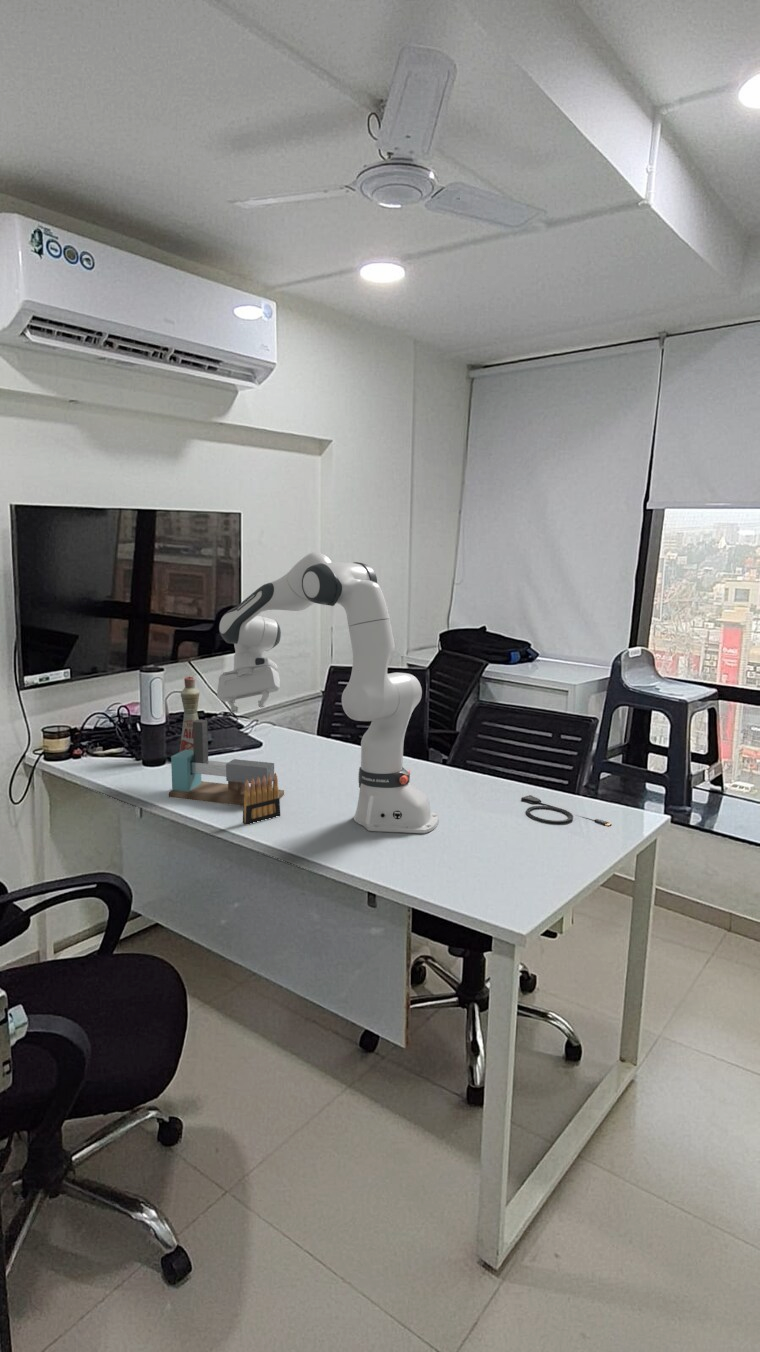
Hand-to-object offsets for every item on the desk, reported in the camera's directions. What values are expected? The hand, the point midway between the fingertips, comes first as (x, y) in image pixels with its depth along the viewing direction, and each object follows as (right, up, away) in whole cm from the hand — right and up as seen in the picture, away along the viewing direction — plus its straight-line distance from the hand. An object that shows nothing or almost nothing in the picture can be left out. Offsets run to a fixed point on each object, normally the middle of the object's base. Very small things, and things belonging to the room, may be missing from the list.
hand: (248, 709), depth 233 cm
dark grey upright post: (-9, -18, -10) cm, 22 cm away
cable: (+87, -29, -21) cm, 94 cm away
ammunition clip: (+8, -28, -27) cm, 40 cm away
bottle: (-24, -18, +28) cm, 41 cm away
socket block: (-17, -22, -7) cm, 29 cm away
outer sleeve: (+3, -20, -13) cm, 23 cm away
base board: (-4, -24, -10) cm, 27 cm away
